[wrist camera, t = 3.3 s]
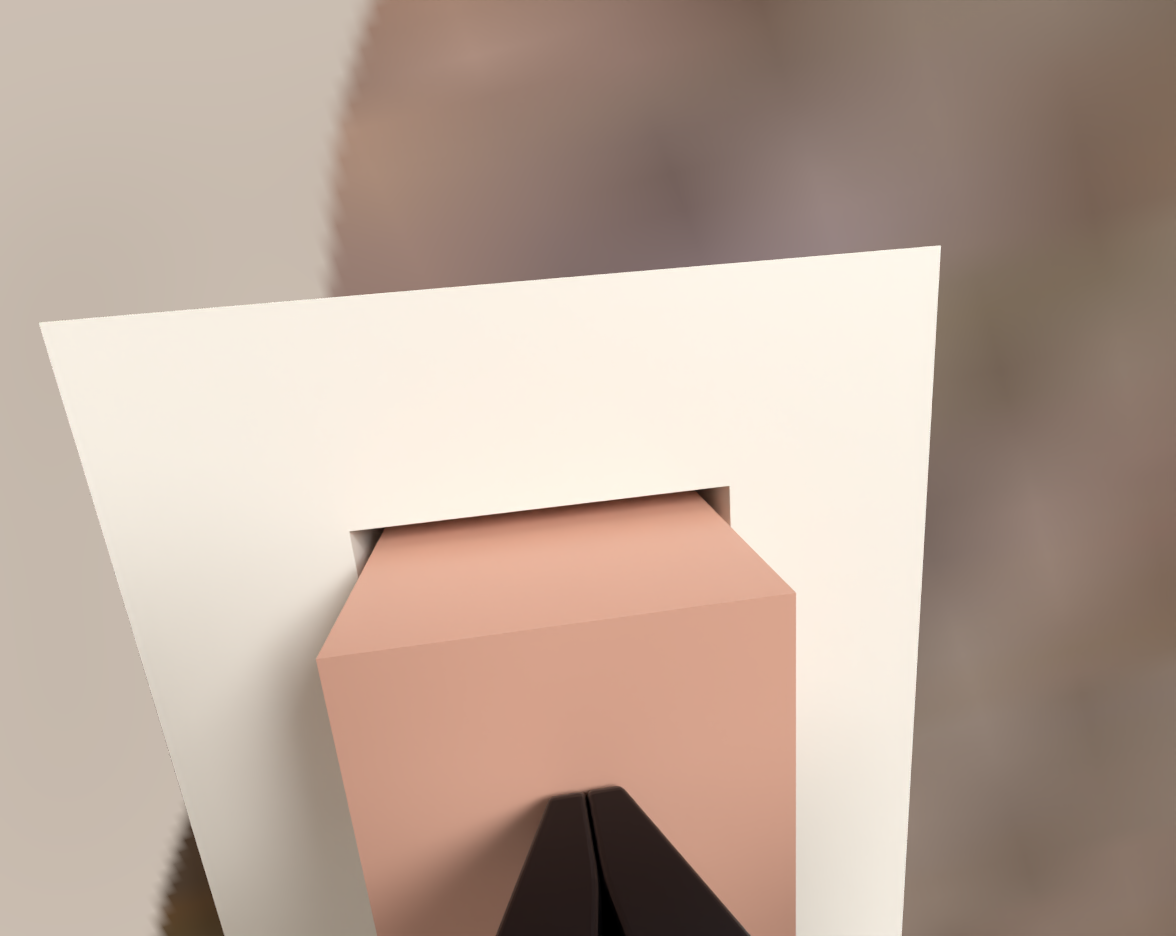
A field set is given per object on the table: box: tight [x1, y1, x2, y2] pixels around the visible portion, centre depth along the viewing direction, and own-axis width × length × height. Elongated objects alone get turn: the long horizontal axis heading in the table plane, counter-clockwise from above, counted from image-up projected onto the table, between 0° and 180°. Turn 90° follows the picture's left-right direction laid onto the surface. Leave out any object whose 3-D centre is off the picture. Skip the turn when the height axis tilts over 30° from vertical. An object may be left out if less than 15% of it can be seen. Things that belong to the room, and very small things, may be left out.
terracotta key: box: [316, 490, 796, 936], centre depth 9 cm, size 5×5×4 cm
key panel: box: [39, 246, 941, 936], centre depth 13 cm, size 24×12×2 cm, turn 5°
